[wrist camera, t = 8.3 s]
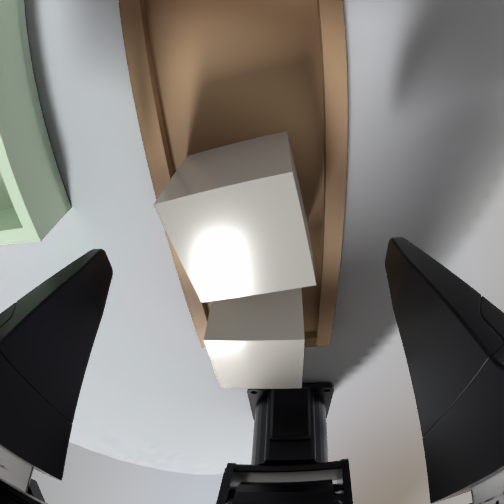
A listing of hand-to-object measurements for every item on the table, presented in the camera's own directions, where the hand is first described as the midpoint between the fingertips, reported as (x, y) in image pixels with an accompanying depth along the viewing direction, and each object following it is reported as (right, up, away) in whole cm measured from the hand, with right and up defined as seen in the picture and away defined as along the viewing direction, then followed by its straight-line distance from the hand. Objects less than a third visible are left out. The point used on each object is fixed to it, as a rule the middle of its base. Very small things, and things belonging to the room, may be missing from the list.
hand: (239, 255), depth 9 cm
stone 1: (+1, -3, +7) cm, 8 cm away
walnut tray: (0, +3, +4) cm, 5 cm away
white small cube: (0, +3, +3) cm, 4 cm away
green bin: (-14, +7, +2) cm, 16 cm away
